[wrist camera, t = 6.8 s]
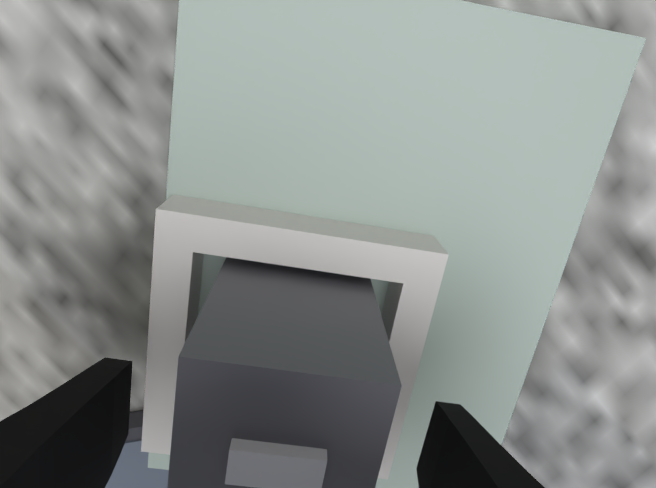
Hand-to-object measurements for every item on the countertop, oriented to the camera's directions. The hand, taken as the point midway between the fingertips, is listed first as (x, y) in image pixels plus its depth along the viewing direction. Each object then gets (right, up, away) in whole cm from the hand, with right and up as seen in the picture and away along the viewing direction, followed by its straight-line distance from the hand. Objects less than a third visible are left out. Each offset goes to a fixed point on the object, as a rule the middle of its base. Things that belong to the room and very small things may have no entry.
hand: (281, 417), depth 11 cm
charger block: (0, +2, +3) cm, 4 cm away
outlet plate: (+2, +3, +4) cm, 6 cm away
